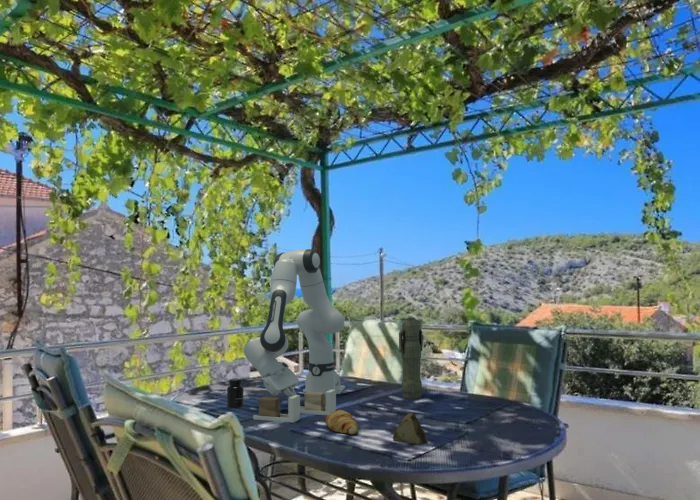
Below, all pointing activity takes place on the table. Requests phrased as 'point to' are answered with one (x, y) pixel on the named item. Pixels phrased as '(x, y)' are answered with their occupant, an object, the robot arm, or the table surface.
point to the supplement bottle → (235, 394)
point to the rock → (410, 431)
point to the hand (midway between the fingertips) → (294, 397)
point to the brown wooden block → (269, 407)
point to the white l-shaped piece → (330, 405)
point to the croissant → (341, 422)
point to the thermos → (411, 358)
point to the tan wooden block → (315, 401)
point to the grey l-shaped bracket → (292, 412)
